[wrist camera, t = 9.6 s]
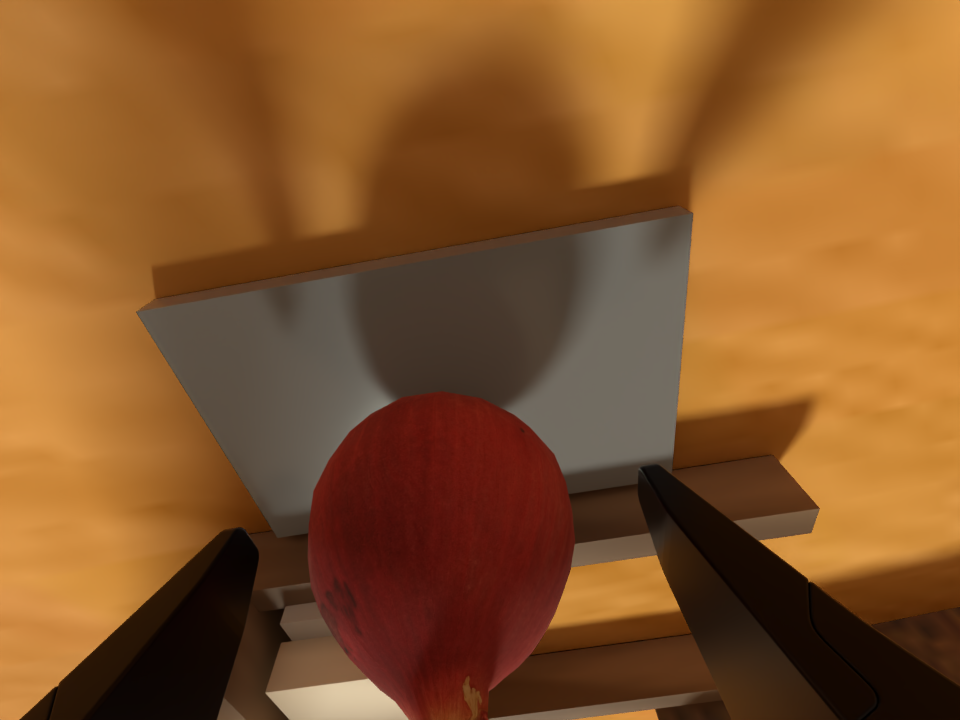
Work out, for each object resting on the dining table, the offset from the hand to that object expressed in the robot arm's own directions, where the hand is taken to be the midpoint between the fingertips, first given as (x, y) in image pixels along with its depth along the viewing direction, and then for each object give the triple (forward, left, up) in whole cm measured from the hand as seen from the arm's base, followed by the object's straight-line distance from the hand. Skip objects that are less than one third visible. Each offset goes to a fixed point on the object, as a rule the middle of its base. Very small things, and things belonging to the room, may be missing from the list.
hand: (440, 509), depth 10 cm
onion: (0, 0, -4) cm, 4 cm away
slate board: (0, 0, -5) cm, 5 cm away
